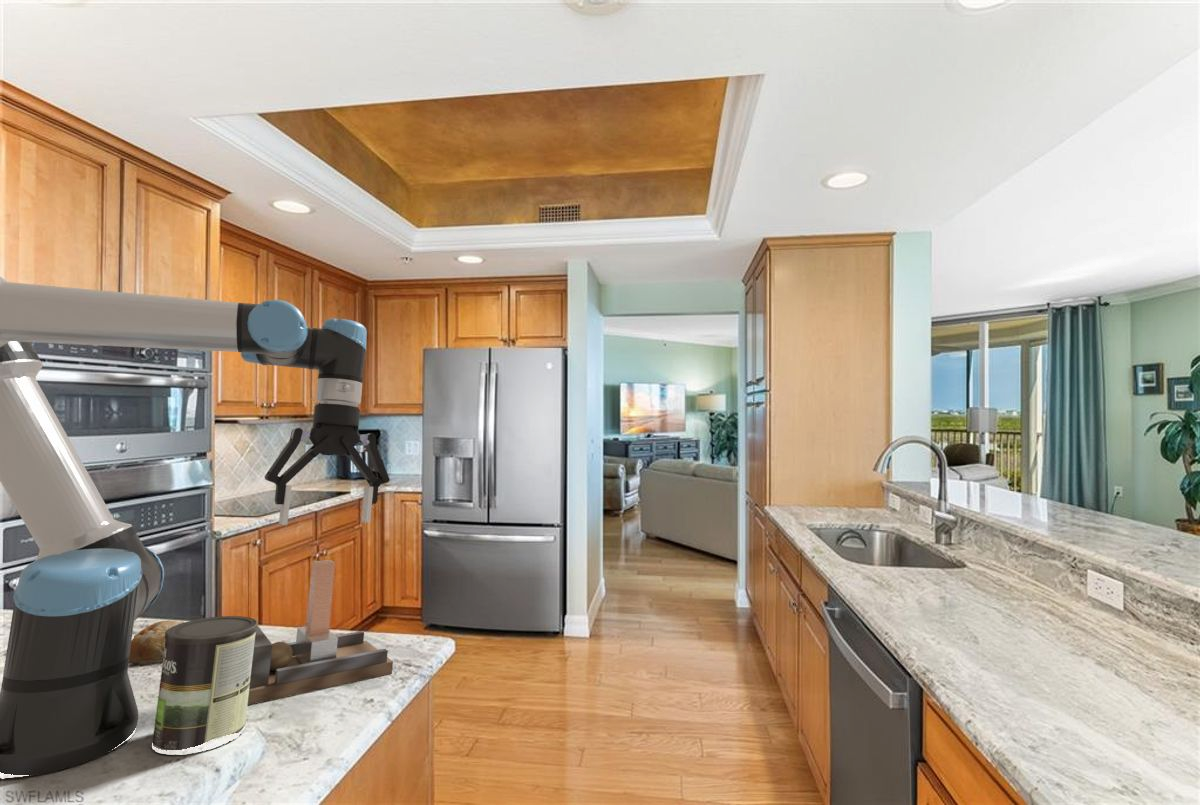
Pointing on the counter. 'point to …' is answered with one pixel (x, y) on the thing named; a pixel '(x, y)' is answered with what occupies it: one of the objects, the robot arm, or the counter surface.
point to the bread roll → (150, 643)
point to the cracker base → (311, 667)
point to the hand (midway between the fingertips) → (326, 523)
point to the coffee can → (204, 681)
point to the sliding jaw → (318, 617)
